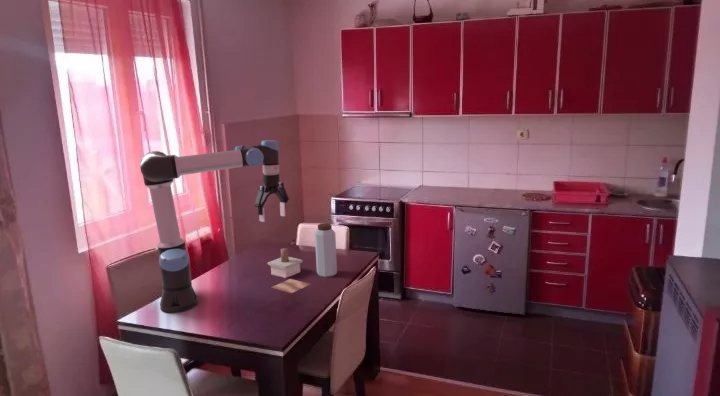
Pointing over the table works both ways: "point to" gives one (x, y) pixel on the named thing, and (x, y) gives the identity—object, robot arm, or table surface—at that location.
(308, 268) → the table surface
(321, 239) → the water bottle
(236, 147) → the robot arm
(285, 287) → the plate
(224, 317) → the table surface
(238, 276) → the table surface
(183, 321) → the table surface
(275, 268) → the dish
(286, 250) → the lid
